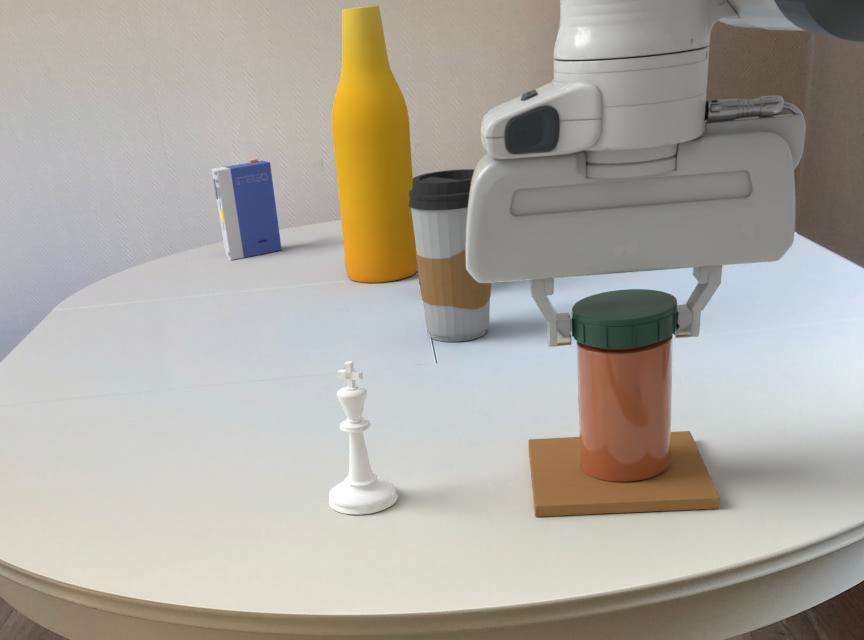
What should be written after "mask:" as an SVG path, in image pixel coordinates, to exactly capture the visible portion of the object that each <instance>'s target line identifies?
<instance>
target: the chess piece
mask: <svg viewBox="0 0 864 640" xmlns="http://www.w3.org/2000/svg"><path fill="white" fill-rule="evenodd" d="M343 366H344V369H339V370H337V379H344V380H345V385H346V386H344V387H342V388H340V389H339V390H337V392H336V397H337V398H338V401H339V403H340V405H341V407H342V409H343V410H342V411H343V412H344V414H345V416H346V419H344V420H342V422H340V426H339V429H340V431H342V432H343V433H348V434H349V435H348V437H349V438H348V439H349V440H348V441H349V451H348V452H349V459H348V475H347V476H346V477H345V478H344V480H343V481H340V482H339V483H337V484H335V485H334V486H333V487H332V488H331V489H330V491H329V494H328V497H329V499H328V506H329V507H330V508H331V509H332V510H334V511H335V512H337V513H341V514H344V515H352V516H353V515H354V516H355V515H370V514H374V513H378V512H381V511H384V510H386V509H388V508H390V507H391V506H393V505H394V504H396V502H397V500H398V499H399V498H398V497H399V495H398V493H397V487H396V485H395V484H394V483H393V482H392V481H390V480H389V479H386V478H383V477H378V475H377V474H376V473H374V472H373V470H372V466H371V463H370V458H369V454H368V449H367V444H366V441H365V435H364V431H366V430H369V429H370V428H371V426H372V424H371V422H370V420H369V419H368V418H365V417H363V412H364V408H365V407H364V406H365V402H366V398H367V389H366V387H363V386H362V385H357V384H356V381H361V380H362V379H364V376H363V371H360V370H359V371H358V370H355V366H354V361H351V360H347V361H345V362H344V365H343Z"/></svg>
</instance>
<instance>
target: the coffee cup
mask: <svg viewBox="0 0 864 640" xmlns="http://www.w3.org/2000/svg"><path fill="white" fill-rule="evenodd" d="M474 170H475V168H474V169H472V168H471V169H464V168H463V169H461V168H460V169H447V170H439V171H433V172H427V173H424V174H419V175H416V176H414V177H413V182H412V190H410V191H409V197H410V200H409V207H411V212H412V219H413V227H414V235H415V243H416V258H417V265H418V269H417V273H418V281H419V280H420V285H419V286H420V295H421V301H422V303H423V311H424V317H425V318H424V320H425V327H426V331H427V332H428V333H429V337H430V338H431V339H432V340H434V341H438V342H445V343H457V342H458V343H459V342H467V341H472V340H475V339H479V338H481V337H483V336H485V335H486V333H487V329H488V328H489V327H490V309H491V308H490V307H491V306H490V305H491V297H492V296H491V295H492V283H479V282H477V281H476V280H475V279H474V278H473V277H472V276H471V275H470V274H469V273H468V271H467V270H466V255H465V243H466V222H467V210H468V200H469V192H470V185H471V180H472V176H473V173H474Z"/></svg>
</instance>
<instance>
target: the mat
mask: <svg viewBox="0 0 864 640" xmlns="http://www.w3.org/2000/svg"><path fill="white" fill-rule="evenodd" d="M527 441H528V456H529V466H530V475H531V486H532V487H531V488H532V496H533V507H534V516H535V517H537V518H538V517H539V518H540V517H556V516H557V517H558V516H560V517H561V516H581V515H602V514H604V515H607V514H622V513H623V514H625V513H650V512H668V511H670V512H671V511H673V512H674V511H694V510H713V509H714V510H716V509H720V504H721V497H720V494H719V493H718V490H717V488H716V486H715V484H714V481H713V479H712V476H711V475H710V473H709V470H708V468H707V466H706V464H705V462H704V459H703V457H702V455H701V452H700V451H699V448H698V446H697V444H696V441H695V440H694V438H693V435H692V433H691V431H690V430H684V431H683V430H681V431H671V447H670V464H669V466H668V467H667V469H666V470H664V471H663V472H662V473H660V474H658V475H656V476H653V477H650V478H647V479H643V480H637V481H628V482H613V481H605V480H600V479H596V478H593V477H591V476H589V475H587V474H586V473H585V472H583V470H582V469H581V466H580V438H579V436H568V437H567V436H566V437H550V438H548V437H547V438H532V439H531V438H530V439H528V440H527Z"/></svg>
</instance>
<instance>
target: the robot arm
mask: <svg viewBox="0 0 864 640" xmlns="http://www.w3.org/2000/svg"><path fill="white" fill-rule="evenodd" d="M559 7H560V9H559V13H560V15H559V16H560V17H559V25H558V31H557V35H556V39H555V43H554V46H553V79H551V82H549V83H547V84H544V85H542V86H540V87H538V88H534V89H531V90H529V91H527V92H525V93H523V94H522V95H520V96H517V97H515V98H512V99H510V100H508V101H506V102H503V103H501V104H498V105H496V106H494V107H491V108H490V109H489V110H488V111H487V112H486V113H485V114H484V116H483V117H482V120H481V122H480V140H481V145H482V148H483V150H484V152H485V153H486V154H484V156H482V157H481V158H480V159H479V161H478V162H477V164H476V166H475V167H474V173H473V176H472V180H471V185H470V192H469V200H468V210H467V222H466V243H465V255H466V270H467V271H468V273H469V274H470V275H471V276H472V277H473V278H474V279H475V280H476V281H477V282H479V283H491V284H492V283H493V284H494V283H504V282H505V283H507V282H518V281H519V282H520V281H529V285H530V286H529V287H530V289H529V290H530V294H531V297H532V299H533V301H534V302H535V304H536V306H537V307H538V309H539V310H540V312H541V314H542V315H543V317H544V319H545V320H546V322H547V323H546V324H547V326H546V328H547V331H546V332H547V333H546V335H547V344H548V348H549V347H550V348H551V347H555V348H556V347H563V346H572V316H571V313H570V312H560V313H559V312H557V310H556V309H555V307H554V305H553V303H552V301H551V300H550V299H549V297H548V296H553V294H554V288H555V285H554V284H555V283H554V282H555V281H554V280H555V279H556V278H557V279H559V278H560V279H561V278H573V277H584V276H598V275H612V274H613V275H614V274H625V273H639V272H650V271H665V270H667V271H668V270H679V269H691V268H692V276H693V277H694V278H695V279H696V281H697V284H696V285H695V287H694V289H693V291H692V292H691V294H690V296H689V298H688V299H687V300H686V302H685V303H683V304H677V326H676V332H674V334H672V335H673V336H674V338H675V339H682V338H685V339H686V338H698V337H699V335H700V329H701V328H700V327H701V318H702V317H701V315H702V311H704V310H705V309H706V307H707V305H708V303H709V302H710V301H711V299H712V297H713V296H714V294H715V293H716V291H717V290H718V288H719V287H720V285H721V284H722V274H723V273H722V272H723V266H733V265H746V264H759V263H772V262H778V261H780V260H781V259H782V258H783V257H784V256H785V254H786V253H787V252H788V251H789V250H790V249H791V247H792V245H793V244H794V241H795V233H796V231H795V230H796V182H795V181H796V179H795V170H796V168H798V166H799V164H800V162H801V160H802V158H803V154H804V148H805V142H806V141H805V140H806V131H807V122H806V119H805V116H804V114H803V112H802V110H801V109H800V108H799V107H798V106H796V105H795V104H794V103H791V102H789V101H785V100H784V97H783V96H782V95H775V94H773V95H770V94H769V95H762V96H759V97H757V98H725V99H711V100H707V96H708V95H707V92H708V78H709V77H708V76H709V61H710V44H711V34H712V30H713V28H714V26H715V24H716V23H718V22H719V23H722V24H724V25H729V26H732V27H737V28H738V27H739V28H750V29H751V28H752V29H762V30H767V31H793V32H795V31H799V32H808V33H812V34H816V35H819V36H825V37H830V38H835V39H840V40H843V41H849V42H857V43H864V0H559ZM784 110H785V111H788V112H790V113H789V114H782V113H783V111H784Z"/></svg>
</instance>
